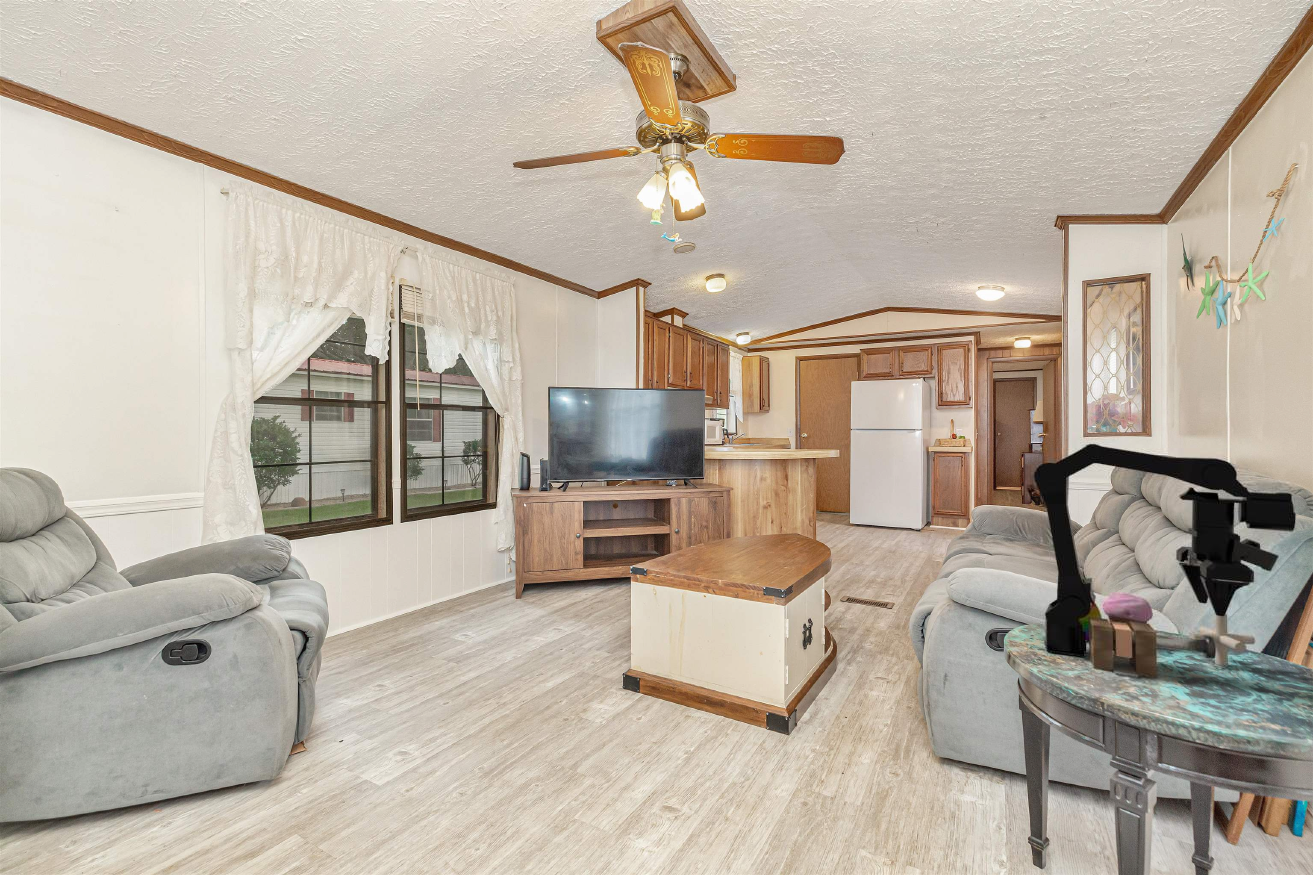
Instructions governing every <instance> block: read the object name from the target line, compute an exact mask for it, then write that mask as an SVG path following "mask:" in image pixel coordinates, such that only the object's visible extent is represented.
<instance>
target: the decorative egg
mask: <svg viewBox="0 0 1313 875" xmlns="http://www.w3.org/2000/svg"><path fill="white" fill-rule="evenodd" d="M1089 617H1093V618H1102V619H1103V617H1102V614H1101V611H1100V608H1099V607H1098V605H1097V604H1096V603H1095V604H1092V606H1091V611H1090V613H1089V614H1088V615H1087V616H1086V617H1083V618H1080V619H1079V620H1080V621H1081V622H1082V624H1083V628H1084V629H1085V631H1086V642H1087V641H1088V642H1089Z"/></svg>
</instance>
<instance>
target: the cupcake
mask: <svg viewBox="0 0 1313 875" xmlns="http://www.w3.org/2000/svg"><path fill="white" fill-rule="evenodd" d="M1102 610H1103V612H1104V614H1105V615H1106V616H1107V619H1108V621H1109V623H1110V624H1111V622H1120V623H1126V624H1127V625H1128V626H1129V622H1138V623H1147V624H1148V622H1149V621H1150V620H1152V619H1153V617H1154V616H1153V615H1154V614H1153V609H1152V606H1151V605H1150V603H1149V602H1148V601H1147V599H1145V598H1144V597H1140V596H1137V595H1133V594H1128V593H1126V592H1125V593H1124V592H1122V593H1121V592H1120V593H1119V592H1113V593H1110V595H1109V596H1108V597H1107V598H1106V599H1105V600H1104V601H1103V602H1102Z"/></svg>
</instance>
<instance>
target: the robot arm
mask: <svg viewBox="0 0 1313 875" xmlns="http://www.w3.org/2000/svg"><path fill="white" fill-rule="evenodd" d="M1094 464H1099V465H1104V466H1111V467H1116V468H1122V469H1126V470H1132V471H1133V470H1134V471H1138V472H1142V473H1143V472H1145V473H1148V474H1149V473H1151V474H1156V475H1161V476H1167V477H1170V478H1173V479H1176V480H1180V481H1182V482H1186V483H1188V484H1191V485H1195V486H1197V487H1201V488H1204V489H1206V490H1211V491H1221V490H1222V491H1223V492H1225V493H1227V494H1229V495H1231V496H1233V497H1235V498H1225V497H1219V493H1218V492H1211V491H1210V492H1209V491H1196V490H1195V488H1193V487H1191V486H1189V487H1188V489H1187V490H1185V492H1183V493H1182V494H1179V496H1178V497H1179V499H1181V500H1183V501H1192V511H1191V514H1192V515H1191V517H1192V518H1191V527H1188V532H1187V533H1188V534H1189V535H1190V536H1191V546H1181V547H1179V548H1178V549H1176V558H1175V560H1176V561H1178V565H1179V566H1180V568H1181V570H1182V572H1183V573H1184V575H1185V578H1186V580H1187V581H1188V583H1189V585H1190V588H1191V590H1192V592H1193V594H1194V596H1195V597H1196V599H1197V601H1198V603H1200V604H1204V605H1205V604H1207V603H1208V601H1209V602H1210V605H1211V607H1212V609H1213V611H1214V612H1215V614H1216V615H1217V616H1225V614H1226V613H1227V611H1228V609H1229V606H1230V604H1231V601H1232V600H1233V597H1234V596H1235V593H1236V592H1237V591H1238V590H1239V589H1241V588H1243V587H1247V586H1249V585H1251V583H1254V582H1255V571H1254V570H1253V569H1252V568H1250V566H1248V565H1246V564H1244V563H1242V561H1243V562H1245V563H1249V564H1250V565H1251V564H1252V565H1254V566H1255V567H1256V566H1257V567H1259V568H1261V569H1262V570H1265V571H1268V572H1272V570H1273V568H1274V567H1275V564H1276V563H1277V561H1278V559H1279V558H1280V555H1278V554H1276V553H1273V552H1270V551H1268V550H1266V549H1262V548H1261V543H1260V542H1257V541H1254V540H1251V539H1248V538H1245V539H1244V540H1242V541H1241V536H1240V535H1239V534H1238V533H1235V504H1238V505H1237V519H1238V523H1245V525H1246V528H1247V529H1252V530H1253V529H1254V530H1265V531H1266V530H1267V531H1280V532H1289V533H1290V532H1291V533H1293V532H1294V530H1295V527H1296V519H1297V518H1296V517H1297V516H1296V515H1297V514H1296V512H1295V509H1294V508H1295V507H1294V503H1293V500H1292V499H1293V498H1292V497H1293V494H1291V492H1283V491H1282V492H1281V491H1280V492H1259V491H1256V492H1255V491H1249V490H1248V487H1246V486H1244V485H1243V484H1242V482H1240V481H1239V480H1238V479H1237V478H1238V476H1237V475H1238V472H1237V469H1236V468H1235V467H1234V466H1233V464H1231V463H1230V462H1229V461H1227V460H1223V459H1220V458H1214V457H1186V456H1185V457H1179V456H1178V457H1176V456H1175V457H1174V456H1173V457H1172V456H1165V455H1159V454H1154V453H1145V452H1141V451H1140V452H1139V451H1135V450H1128V449H1121V448H1115V447H1108V446H1102V445H1100V444H1097V443H1088V444H1086V445H1083V447H1081V449H1078V450H1077V451H1075V452H1074V453H1071V454H1070V455H1068V456H1066V457H1064V458H1062V459H1061V460H1060V459H1059V461H1048V462H1044V463H1042V464H1040V465H1038V466H1037V467H1036V468H1035V470H1034V473H1033V479H1034V482H1035V484H1036V487H1037V490H1038V493H1039V494H1040V496H1041V499H1042V500H1043V503H1044V505H1045V507H1046V512H1047V518H1048V522H1049V523H1048V524H1049V528H1050V529H1049V530H1050V535H1051V540H1052V545H1053V546H1052V547H1053V550H1054V551H1053V552H1054V555H1055V561H1056V567H1057V584H1056V585H1057V588H1056V599H1055V600H1053V601H1052V602H1051V603H1049V604H1048V606H1047V609H1046V610H1045V613H1044V616H1045V618H1044V619H1045V620H1044V622H1045V623H1044V624H1045V628H1044V629H1045V640H1044V641H1043V642H1044V646H1045V649H1046V650H1045V651H1046V652H1048V653H1055V654H1060V655H1068V656H1074V657H1075V656H1076V657H1085V652H1087V641H1086V631H1085V629H1084V628H1083V624H1082V622H1081V621H1080V620H1079V619H1080V618H1083V617H1086V616H1087V615H1088V614H1089V613H1090V611H1091V606H1092V604H1096V598H1097V596H1096V595H1095V593H1094V591H1093V578H1092V577H1089V578H1084V575H1083V573H1082V571H1081V568H1080V563H1079V559H1078V558H1079V557H1078V553H1077V547H1076V543H1075V542H1076V541H1075V535H1074V532H1073V527H1072V521H1071V514H1070V511H1069V505H1068V504H1069V502H1068V500H1069V491H1070V490H1069V489H1070V487H1069V486H1070V484H1069V483H1070V476H1072V475H1075V474H1077V473H1078V472H1081V471H1082V470H1085V469H1086V468H1087V467H1088V468H1089V467H1090V466H1091V465H1094ZM1240 498H1241V499H1240ZM1214 612H1213V613H1214Z"/></svg>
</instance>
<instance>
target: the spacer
mask: <svg viewBox="0 0 1313 875" xmlns="http://www.w3.org/2000/svg"><path fill="white" fill-rule="evenodd" d="M1111 626H1112V627H1113V629H1114V631H1115V642H1113V654H1114V655H1115V657H1118V658H1126V659H1130V658H1132V630H1131V629H1130V628H1129V626H1128V625H1127V624H1126V623H1120V622H1111Z"/></svg>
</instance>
